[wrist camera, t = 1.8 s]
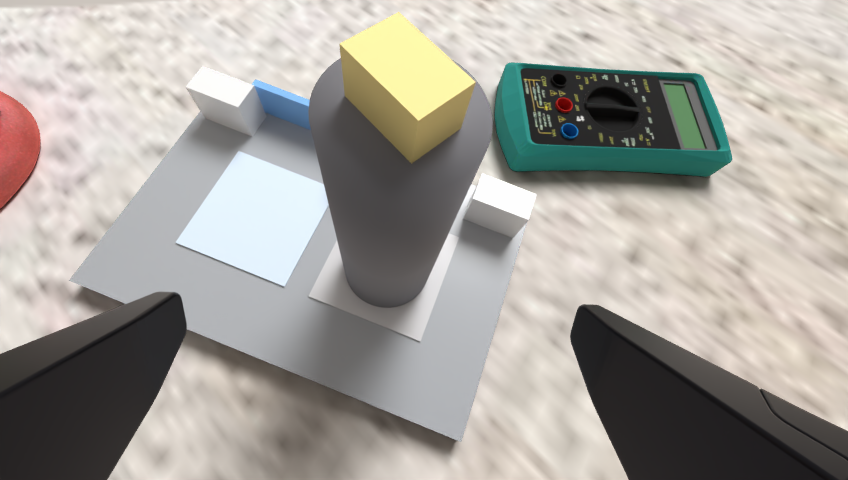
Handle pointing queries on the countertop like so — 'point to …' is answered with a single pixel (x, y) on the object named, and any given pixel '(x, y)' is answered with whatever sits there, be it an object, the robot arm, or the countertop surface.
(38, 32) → the countertop surface
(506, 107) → the digital multimeter
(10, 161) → the stacking bear
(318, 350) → the board
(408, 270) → the grey cylinder
